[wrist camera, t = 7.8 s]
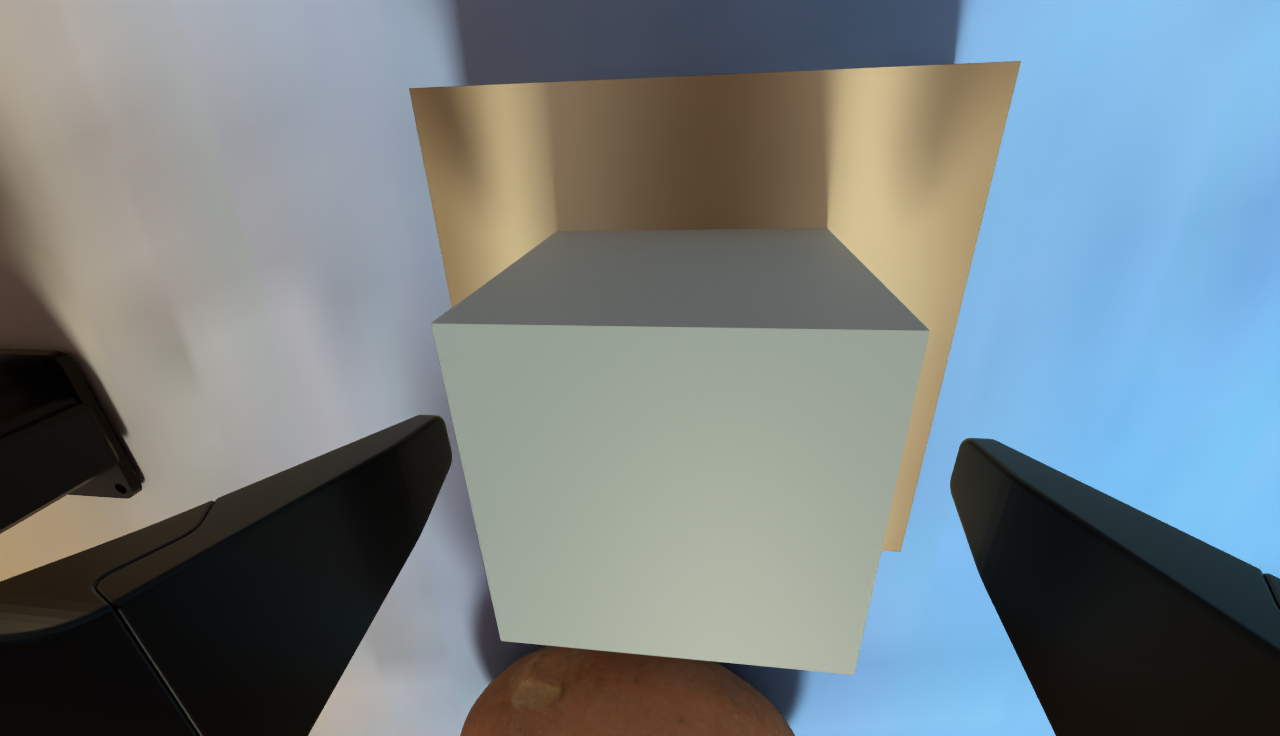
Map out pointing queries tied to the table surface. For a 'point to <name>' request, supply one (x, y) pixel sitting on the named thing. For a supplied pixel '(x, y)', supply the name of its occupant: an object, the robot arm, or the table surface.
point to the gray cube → (683, 441)
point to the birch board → (734, 177)
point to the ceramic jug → (620, 698)
